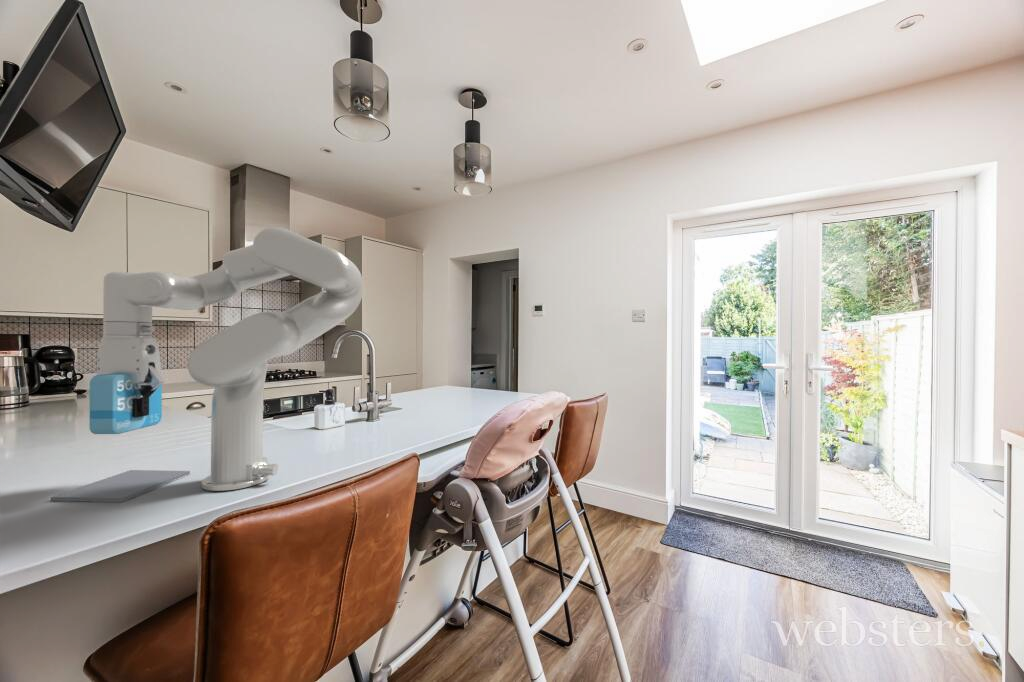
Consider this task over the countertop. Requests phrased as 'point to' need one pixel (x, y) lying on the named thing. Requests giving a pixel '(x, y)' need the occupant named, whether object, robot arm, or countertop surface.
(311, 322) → the robot arm
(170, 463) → the countertop surface
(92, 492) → the grey mat
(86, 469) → the countertop surface
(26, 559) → the countertop surface
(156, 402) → the data package
